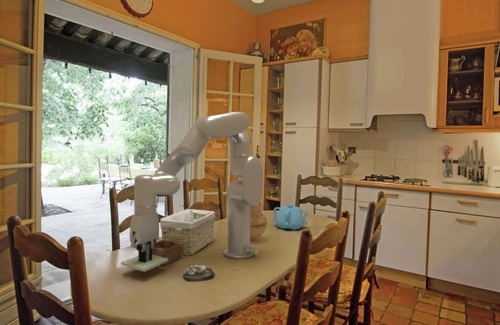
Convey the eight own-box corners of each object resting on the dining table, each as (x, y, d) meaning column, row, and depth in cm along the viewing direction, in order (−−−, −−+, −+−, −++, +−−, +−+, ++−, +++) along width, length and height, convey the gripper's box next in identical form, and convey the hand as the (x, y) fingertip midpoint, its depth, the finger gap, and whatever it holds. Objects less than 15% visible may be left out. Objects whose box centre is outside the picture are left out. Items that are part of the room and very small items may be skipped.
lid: (168, 264, 117) (168, 242, 117) (144, 274, 107) (144, 251, 107) (145, 258, 123) (145, 237, 122) (121, 267, 113) (120, 245, 112)
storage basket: (191, 257, 132) (191, 222, 131) (157, 252, 137) (158, 218, 136) (216, 241, 154) (216, 211, 153) (186, 237, 159) (186, 208, 159)
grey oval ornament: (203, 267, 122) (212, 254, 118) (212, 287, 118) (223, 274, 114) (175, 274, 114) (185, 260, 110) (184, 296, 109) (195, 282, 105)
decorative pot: (282, 232, 172) (283, 207, 171) (270, 225, 187) (271, 202, 186) (309, 230, 178) (310, 206, 177) (295, 223, 193) (295, 201, 192)
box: (183, 257, 131) (183, 243, 130) (164, 266, 122) (164, 250, 121) (163, 253, 136) (163, 239, 136) (144, 260, 127) (144, 245, 126)
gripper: (154, 205, 122) (154, 252, 124) (119, 212, 109) (119, 265, 110) (169, 207, 119) (169, 255, 120) (135, 215, 105) (134, 270, 106)
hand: (145, 260), depth 115 cm, fingers closed on lid
